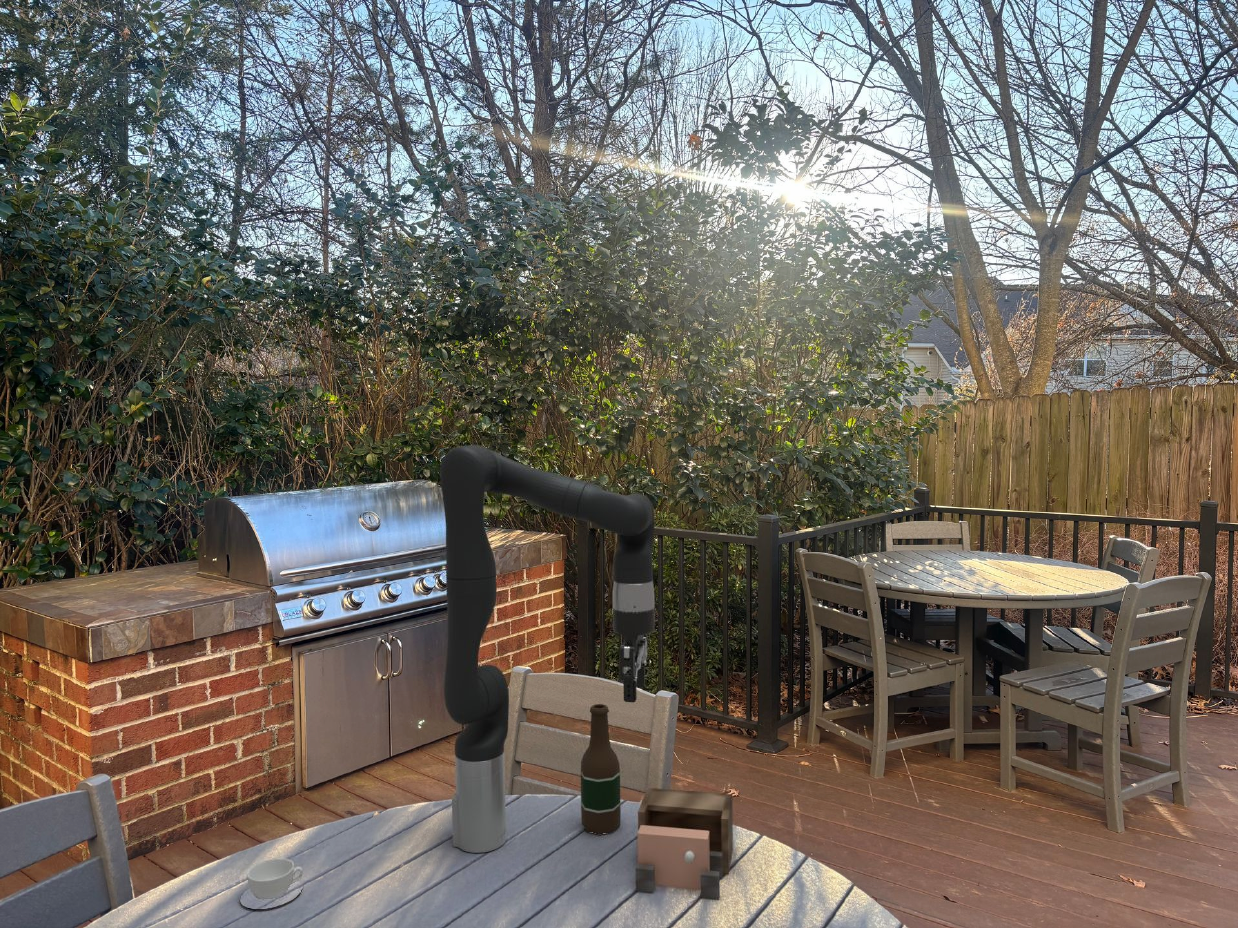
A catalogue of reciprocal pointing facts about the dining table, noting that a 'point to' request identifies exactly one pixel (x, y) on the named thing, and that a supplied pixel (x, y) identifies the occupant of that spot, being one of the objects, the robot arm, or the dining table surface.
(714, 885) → the cabinet
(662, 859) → the door
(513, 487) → the robot arm
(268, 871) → the teacup
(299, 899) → the dining table surface
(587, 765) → the beer bottle
